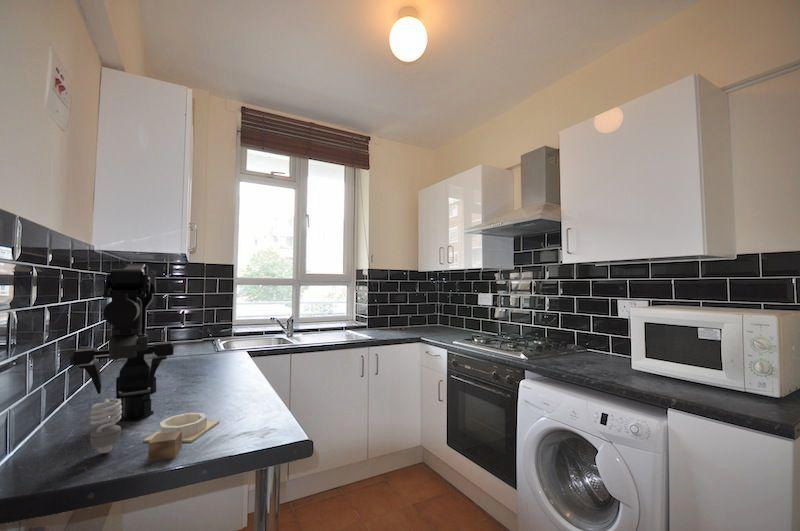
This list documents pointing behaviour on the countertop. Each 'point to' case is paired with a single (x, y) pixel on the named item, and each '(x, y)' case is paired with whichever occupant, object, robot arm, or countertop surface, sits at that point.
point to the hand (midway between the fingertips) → (125, 390)
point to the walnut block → (165, 446)
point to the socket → (185, 426)
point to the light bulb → (105, 425)
